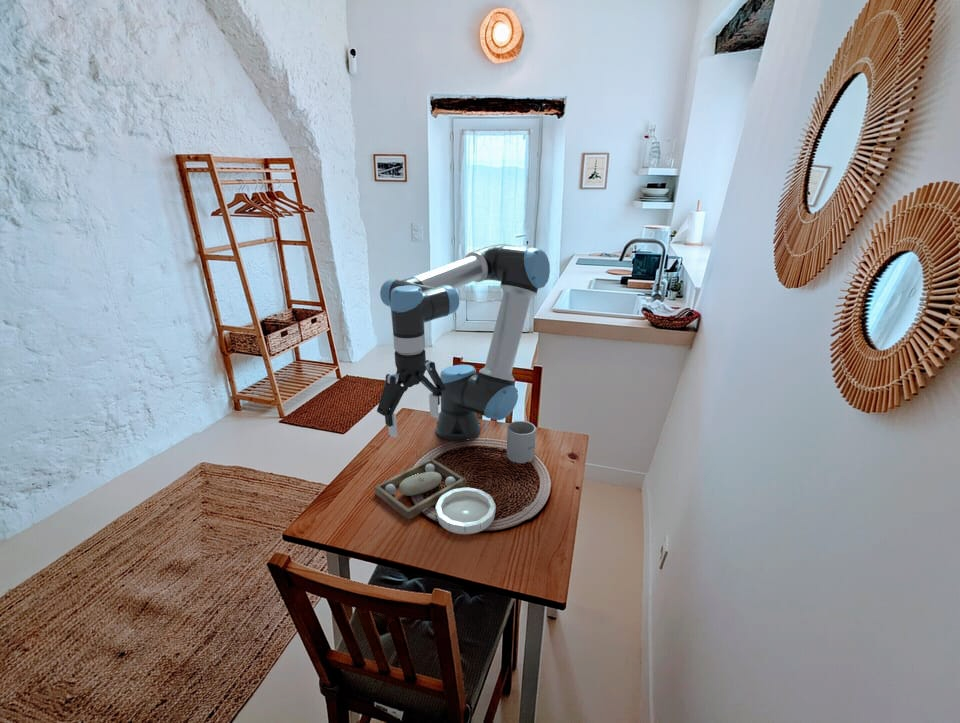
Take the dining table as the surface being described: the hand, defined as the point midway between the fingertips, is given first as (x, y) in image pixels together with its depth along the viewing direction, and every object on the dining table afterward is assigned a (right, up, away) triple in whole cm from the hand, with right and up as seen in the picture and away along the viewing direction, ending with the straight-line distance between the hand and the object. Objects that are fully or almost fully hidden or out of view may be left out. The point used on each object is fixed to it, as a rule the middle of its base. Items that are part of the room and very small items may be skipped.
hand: (414, 426), depth 123 cm
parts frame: (+1, -19, +8) cm, 21 cm away
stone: (+1, -19, +8) cm, 21 cm away
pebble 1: (-8, -20, +6) cm, 22 cm away
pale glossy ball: (+2, -16, +15) cm, 22 cm away
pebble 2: (+9, -18, +10) cm, 22 cm away
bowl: (+13, -23, -1) cm, 26 cm away
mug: (+31, -12, +26) cm, 42 cm away
